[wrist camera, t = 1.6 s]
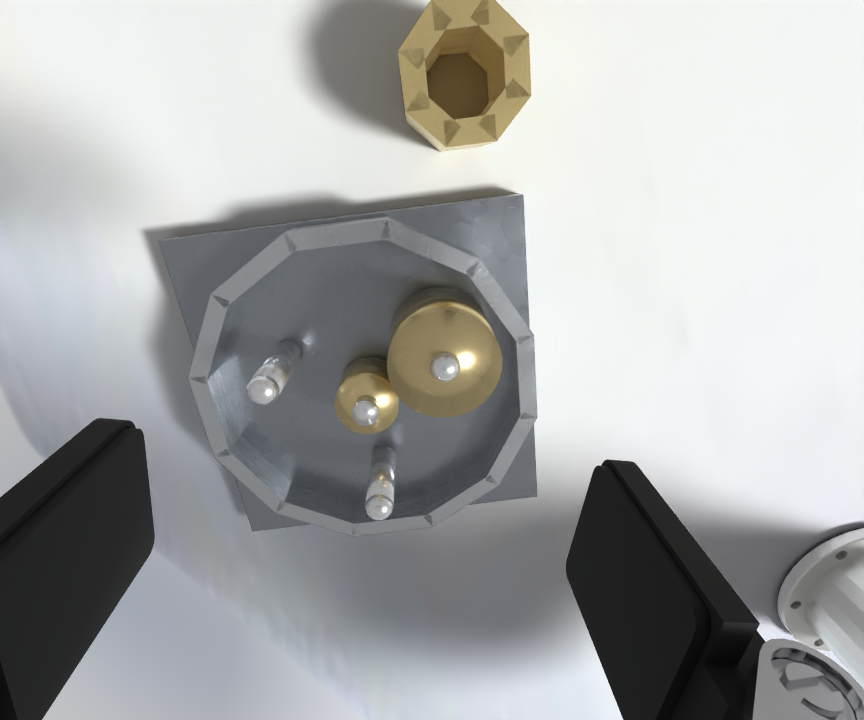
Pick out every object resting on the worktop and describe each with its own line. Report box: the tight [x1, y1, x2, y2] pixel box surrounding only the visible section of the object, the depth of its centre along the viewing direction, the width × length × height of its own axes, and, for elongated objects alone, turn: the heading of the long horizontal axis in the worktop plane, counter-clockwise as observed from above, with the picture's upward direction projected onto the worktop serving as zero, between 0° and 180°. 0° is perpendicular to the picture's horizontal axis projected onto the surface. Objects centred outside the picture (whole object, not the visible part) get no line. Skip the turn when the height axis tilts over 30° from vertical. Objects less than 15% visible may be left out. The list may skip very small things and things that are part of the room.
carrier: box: [159, 193, 537, 536], centre depth 28 cm, size 20×20×7 cm
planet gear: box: [398, 0, 531, 151], centre depth 23 cm, size 6×6×5 cm
